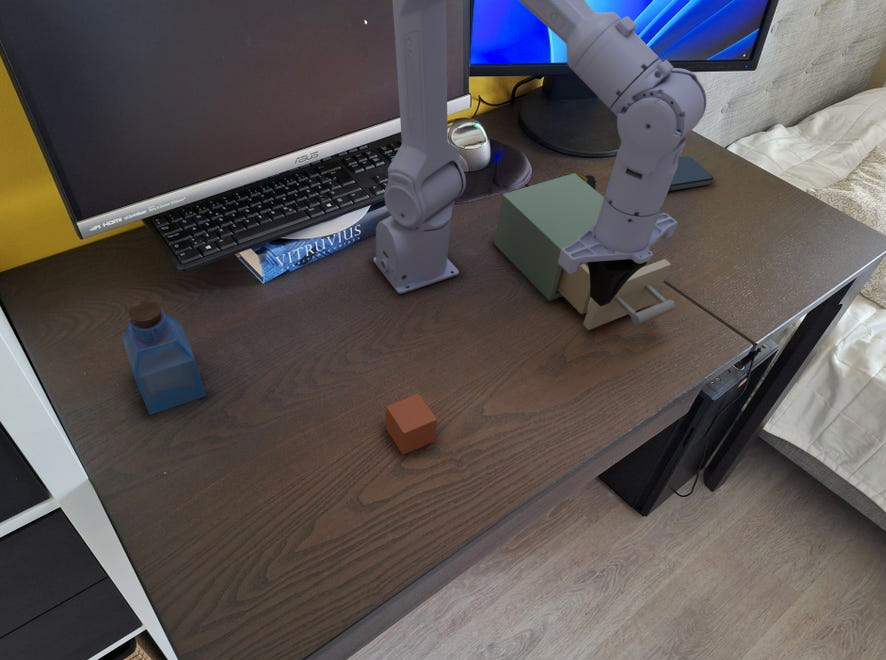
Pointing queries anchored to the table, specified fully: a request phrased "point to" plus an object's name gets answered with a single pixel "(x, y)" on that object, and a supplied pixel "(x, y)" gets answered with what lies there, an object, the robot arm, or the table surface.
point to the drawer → (619, 295)
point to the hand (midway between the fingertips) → (599, 299)
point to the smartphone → (689, 175)
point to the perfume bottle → (161, 358)
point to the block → (410, 423)
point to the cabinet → (545, 226)
